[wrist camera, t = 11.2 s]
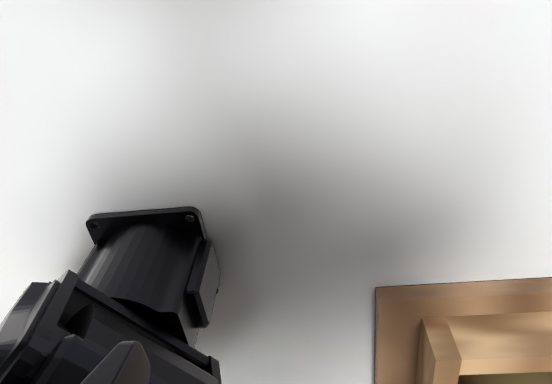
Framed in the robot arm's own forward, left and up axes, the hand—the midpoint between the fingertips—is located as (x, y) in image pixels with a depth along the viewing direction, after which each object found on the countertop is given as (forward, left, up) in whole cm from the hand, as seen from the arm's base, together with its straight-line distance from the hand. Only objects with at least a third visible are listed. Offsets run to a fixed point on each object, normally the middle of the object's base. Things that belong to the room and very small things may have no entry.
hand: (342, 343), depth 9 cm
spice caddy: (+11, -19, -13) cm, 25 cm away
